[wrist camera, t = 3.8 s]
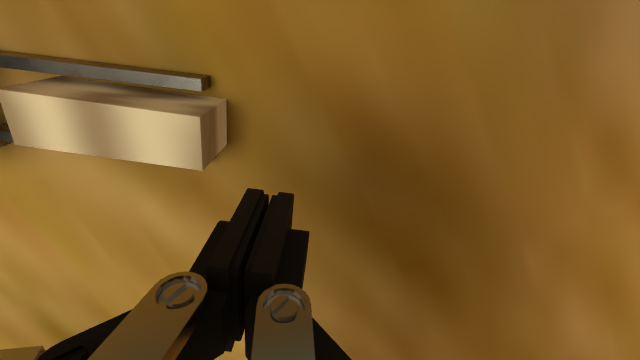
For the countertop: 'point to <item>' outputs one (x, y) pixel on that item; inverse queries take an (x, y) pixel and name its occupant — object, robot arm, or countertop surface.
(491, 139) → the countertop surface
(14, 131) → the beige rectangular block
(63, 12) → the countertop surface
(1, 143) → the end cap
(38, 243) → the countertop surface
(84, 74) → the guide channel
